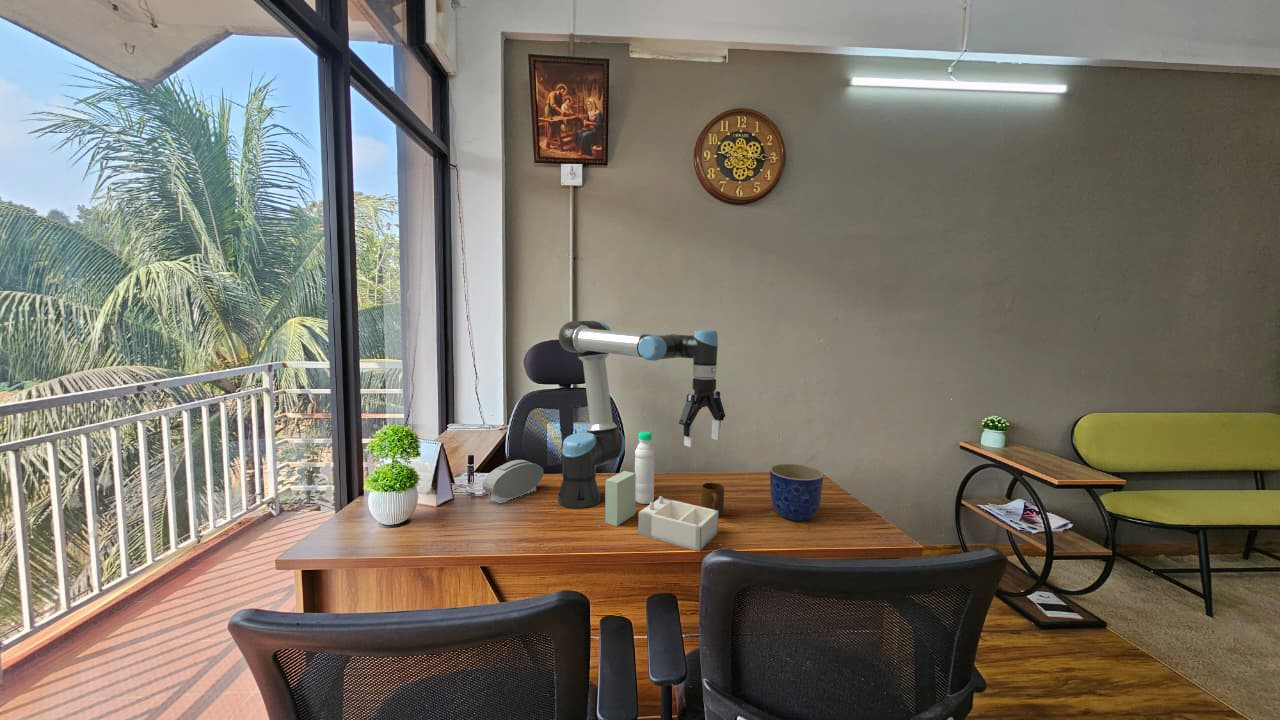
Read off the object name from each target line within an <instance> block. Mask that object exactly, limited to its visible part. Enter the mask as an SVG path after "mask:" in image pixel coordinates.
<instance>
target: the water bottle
mask: <svg viewBox="0 0 1280 720" xmlns="http://www.w3.org/2000/svg"><path fill="white" fill-rule="evenodd" d="M637 437H638V441H639V442H638V444H637V447H636V449H635V451H634V457H635V458H634V473H636V488H635V503H637V504H640V505H648V504H649V505H650V502H655V501H654V500H655V492H654V491H655V455H656V454H655V450H654V448H653V444H652V442H651V440H652V437H653V435H652V433H651V432H650V431H640V432H639V433H638V435H637Z"/></svg>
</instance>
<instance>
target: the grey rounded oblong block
mask: <svg viewBox="0 0 1280 720" xmlns="http://www.w3.org/2000/svg"><path fill="white" fill-rule="evenodd" d="M544 472H545V471H544V468H543V467H541V465H539V464H537V463H533V462H530V461H528V460H524V459H515V460H511V461H508V462H505V463H503V464H502V465H499V466H498V467H496V468H495V469H493V470H492V471H490V472H489V473H488V474H487V475H486V477H485V478H484V480H483V481H482V489H483V491H484V492H486V493H488V494H489V495H490V494H491V495H492V496H491V501H492V500H493V501H496V502H499V503H501V502H504V501H507V500H510V499H512V500H514V499H513V498H515V499H517V498H516V497H518V496H520V497H523V496H525V495H524V494H526V495H528V494H530V492H531V493H533V491H534V492H536V491H537V485H538V484H539V483H540V482H541V481H542V479H543V477H544ZM527 493H528V494H527ZM522 495H523V496H522ZM518 498H519V497H518ZM493 501H492V502H493ZM510 501H511V500H510ZM507 502H508V501H507ZM504 503H505V502H504Z"/></svg>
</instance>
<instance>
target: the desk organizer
mask: <svg viewBox="0 0 1280 720" xmlns="http://www.w3.org/2000/svg"><path fill="white" fill-rule="evenodd" d="M663 496H664V495H663ZM663 496H662V495H660V496H658V498H657V499H656V500H655V501H653V502H650V504H649V505H647V506H646V507H644V508H643V509H641V510H640V511H638V523H637V525H638V528H637V531H638V535H639V536H642V537H646V538H649V539H652V540H656V541H660V542H663V543H666V542H667V543H666V544H671V545H673V546H678V547H682V548H685V549H689V550H691V551H695V550H699V551H700V550H701V548H702V547H703V548H705V546H706V545H707V544H709V543H710V542H711V540H712V539H713V538H715V536H716V535H718V533H719V517H718V510H713V509H709V508H704V507H701V505H694V504H691V503H687V502H681V501H679V500H675V499H674V500H672V499H670V498H665V497H663ZM703 548H702V549H703ZM699 551H698V552H699ZM700 552H701V551H700Z"/></svg>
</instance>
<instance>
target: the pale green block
mask: <svg viewBox="0 0 1280 720" xmlns="http://www.w3.org/2000/svg"><path fill="white" fill-rule="evenodd" d="M604 487H605V489H604V490H605V493H604V494H605V497H604V498H605V501H604V503H605V505H604V507H605V508H604V513H605V514H604V515H605V517H604V519H605V521H604V522H605V524H609V525H612V526H615V527H618V526H619V525H621V524H622V523H623V522H625V521H627V520H628V519H631V517H633V516H635V515H636V501H635V488H636V473H635V472H632V471H627V470H623V471H621V472H619V473H617V474H615V475H612V476H611V477H610V478H609V477H608V478H607V479H605V486H604Z"/></svg>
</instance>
